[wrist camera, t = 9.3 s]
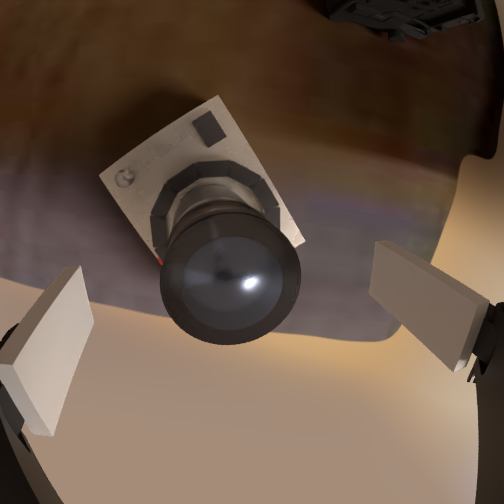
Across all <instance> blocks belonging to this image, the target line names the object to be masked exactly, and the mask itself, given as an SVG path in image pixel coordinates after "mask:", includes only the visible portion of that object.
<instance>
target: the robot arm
mask: <svg viewBox="0 0 504 504" xmlns="http://www.w3.org/2000/svg"><path fill="white" fill-rule="evenodd" d="M369 295H370V296H371V297H373V298H374V299H375V300H376V301H377V302H378V303H379V304H380V305H381V306H383V307H384V308H385V309H386V310H387V311H388V312H389V313H390V314H391V315H393V316H394V317H395V318H396V319H397V320H398V321H399V322H400V323H401V324H403V325H404V326H405V327H406V328H407V329H408V330H409V331H410V332H411V333H412V334H414V336H416V337H417V338H418V339H419V340H420V341H421V342H422V343H423V344H424V345H425V346H426V347H427V348H428V349H429V350H430V351H431V352H433V353H434V354H435V355H436V356H437V357H438V358H439V359H440V360H441V361H442V362H443V363H444V364H445V365H446V366H447V367H448V368H449V369H450V370H451V371H453V372H455V371H458V370H460V369H462V368H464V367H466V366H467V364H468V361H469V359H470V356H471V354H472V353H473V354H474V355H476V356H477V358H476V361H475V363H474V365H473V368H472V370H471V372H470V374H469V377H468V379H467V382H470V380H471V378H472V377H473V376H475V379H474V381H473V383H476V391H477V405H478V430H479V454H478V455H479V456H478V478H477V490H476V500H475V504H504V302H500V303H497V304H496V306H494V305H492V304H490V303H489V302H490V301H489V300H488V299H486V298H485V297H483V296H482V295H480V294H478V293H477V292H475V291H474V290H472V289H470V288H469V287H467V286H465V285H464V284H462V283H461V282H459V281H458V280H456V279H454V278H453V277H451V276H449V275H448V274H446V273H444V272H443V271H441V270H439V269H438V268H436V267H434V266H432V265H431V264H429V263H428V262H426V261H424V260H422V259H421V258H419V257H417V256H415V255H414V254H412V253H410V252H408V251H407V250H405V249H403V248H401V247H399V246H398V245H396V244H394V243H392V242H390V241H389V240H386V241H375V250H374V258H373V266H372V274H371V281H370V288H369ZM93 324H94V319H93V316H92V312H91V308H90V304H89V300H88V296H87V292H86V288H85V283H84V279H83V274H82V270H81V265H78V266H66V267H64V268H63V269H62V271H61V272H60V273H59V274H58V275H57V277H56V278H55V279H54V280H53V281H52V282H51V284H50V285H49V286H48V287H47V289H46V290H45V291H44V292H43V293H42V295H41V296H40V297H39V299H38V300H37V301H36V302H35V304H34V305H33V306H32V307H31V309H30V310H29V311H28V313H27V314H26V315H25V317H24V318H23V319H22V321H21V322H20V323H17V324H16V325H15V326H14V327H12V328H11V329H10V330H8V331H7V333H6V334H5V335H4V337H3V338H2V341H0V504H64V503H63V502H62V501H61V499H60V497H59V496H58V494H57V493H56V491H55V489H54V488H53V486H52V485H51V483H50V481H49V480H48V478H47V476H46V474H45V473H44V471H43V469H42V467H41V466H40V464H39V462H38V460H37V458H36V456H35V454H34V453H33V451H32V449H31V447H30V445H29V443H28V441H27V438H26V437H25V435H24V434H23V432H22V431H21V429H22V426H23V424H24V421H25V423H26V424H27V426H28V427H29V429H30V430H31V431H32V433H33V434H37V435H44V436H52V437H53V435H54V432H55V428H56V425H57V422H58V419H59V415H60V413H61V409H62V406H63V403H64V400H65V397H66V395H67V391H68V389H69V386H70V383H71V380H72V377H73V375H74V372H75V369H76V367H77V364H78V361H79V359H80V356H81V354H82V351H83V349H84V346H85V344H86V341H87V339H88V336H89V334H90V332H91V329H92V326H93Z"/></svg>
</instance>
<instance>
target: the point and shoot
mask: <svg viewBox="0 0 504 504" xmlns="http://www.w3.org/2000/svg"><path fill="white" fill-rule="evenodd" d="M99 177H100V178H101V180H102V181H103V183H104V184H105V186H106V187H107V189H108V190H109V192H110V193H111V195H112V196H113V198H114V199H115V201H116V202H117V204H118V205H119V206H120V208H121V209H122V211H123V212H124V214H125V215H126V216H127V218H128V219H129V221H130V222H131V224H132V225H133V226H134V228H135V229H136V231H137V232H138V233H139V235H140V236H141V237H142V239H143V240H144V242H145V243H146V244H147V246H148V247H149V248H150V250H151V251H152V252H153V254H154V255H155V256H156V258H157V260H158V262H159V263H160V264H163V260H164V256H165V250H166V246H167V242H168V238H169V236H170V233H171V230H172V226H173V221H174V216H175V212H176V210H177V207H178V205H179V203H180V202H181V201H182V199H183V198H184V197H185V196H186V195H187V194H188V193H190V192H191V191H193V190H194V189H196V188H199V187H202V186H206V185H219V186H223V187H226V188H228V189H231V190H232V191H234V192H235V193H236V194H238V195H239V196H240V197H241V198H242V199H243V200H244V201H245V202H246V203H248V204H249V205H250V206H251V207H253V208H254V209H256V210H257V211H259V212H260V213H261V214H262V215H263V216H264V217H266V218H267V220H268V221H270V222H271V223H272V224H273V225H275V226H276V227H277V228H278V229H279V230H280V231H281V232H282V233H283V234H284V235H285V236H286V237H287V238H288V239H289V241H290V242H291V244H292V245H293V247H294V248H295V247H297V246H298V245H300V244H301V243H303V242H305V240H304V238H303V237H302V235H301V233H300V231H299V229H298V228H297V226H296V224H295V222H294V220H293V219H292V217H291V215H290V213H289V212H288V210H287V208H286V206H285V205H284V203H283V201H282V199H281V198H280V196H279V194H278V192H277V191H276V189H275V187H274V186H273V184H272V182H271V180H270V179H269V177H268V175H267V174H266V172H265V170H264V169H263V167H262V165H261V164H260V162H259V160H258V159H257V157H256V155H255V154H254V152H253V150H252V149H251V147H250V145H249V144H248V142H247V140H246V139H245V137H244V136H243V134H242V132H241V131H240V129H239V127H238V126H237V124H236V123H235V121H234V119H233V118H232V116H231V115H230V113H229V111H228V110H227V108H226V107H225V105H224V104H223V102H222V100H221V99H220V97H219V96H218V95H217V96H215V97H214V98H212V99H210V100H208V101H207V102H205V103H203V104H201V105H200V106H198V107H196V108H195V109H193V110H191V111H190V112H188V113H187V114H185V115H183V116H182V117H180V118H179V119H177V120H175V121H174V122H172V123H171V124H169V125H168V126H166V127H165V128H163V129H162V130H160V131H159V132H157V133H156V134H154V135H153V136H151V137H150V138H148V139H147V140H145V141H144V142H143V143H141V144H140V145H138V146H137V147H135V148H134V149H133V150H131V151H130V152H129V153H127V154H126V155H124V156H123V157H122V158H120V159H119V160H118V161H116V162H115V163H114V164H112V165H111V166H110V167H109V168H107V169H106V170H105V171H103V172H102V173H101V174H100V175H99Z"/></svg>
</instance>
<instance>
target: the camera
mask: <svg viewBox="0 0 504 504" xmlns="http://www.w3.org/2000/svg"><path fill="white" fill-rule="evenodd" d="M326 13H327V15H328V16H329V19H330V20H333V21H339V22H342V21H346V20H347V21H351V22H354V23H358V24H362V25H365V26H368V27H372V28H375V29H378V30H381V31H384V32H387V33H388V39H389V40H390V41H392V42H403V41H405V40H404V35H410V36H412V37H415V38H417V39H423V38H426V37H427V36H430V35H432V34H433V32H437V31H441V32H444V33H446V28H449V27H453V26H456V25H460V24H463V23H467V22H469V21H470V20H471V21H473V20H475V22H479V21H481V20H482V19H484V13H483V8H482V4H481V0H326ZM465 19H466V20H465ZM467 20H469V21H467ZM469 25H472V24H471V22H469Z"/></svg>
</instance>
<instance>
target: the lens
mask: <svg viewBox="0 0 504 504" xmlns="http://www.w3.org/2000/svg"><path fill="white" fill-rule="evenodd" d="M300 284H301V268H300V262H299V259H298V255H297V253H296V251H295V249H294V247H293V245H292V244H291V242H290V241H289V239H288V238H287V237H286V236H285V235H284V234H283V233H282V232H281V231H280V230H279V229H278V228H277V227H276V226H275V225H273V224H272V223H271V222H270V221H268V220H267V218H266V217H264V216H263V215H262V214H261V213H260V212H259V211H257V210H256V209H254V208H253V207H251V206H250V205H249V204H248V203H246V202H245V201H244V200H243V199H242V198H241V197H240V196H239V195H238V194H236V193H235V192H234V191H232V190H231V189H228V188H226V187H223V186H219V185H206V186H202V187H199V188H196V189H194V190H193V191H191V192H190V193H188V194H187V195H186V196H185V197H184V198H183V199H182V201H181V202H180V203H179V205H178V207H177V210H176V212H175V216H174V221H173V226H172V230H171V233H170V236H169V238H168V242H167V246H166V250H165V256H164V260H163V264H162V269H161V275H160V291H161V296H162V300H163V303H164V306H165V308H166V310H167V312H168V314H169V315H170V317H171V318H172V319H173V321H174V322H175V323H176V324H177V325H178V326H179V327H180V328H181V329H182V330H184V331H185V332H186V333H188V334H189V335H191V336H193V337H194V338H197V339H199V340H201V341H204V342H208V343H212V344H218V345H235V344H241V343H246V342H250V341H253V340H255V339H258V338H260V337H262V336H264V335H265V334H267V333H269V332H270V331H272V330H273V329H275V328H276V327H277V326H278V325H279V324H280V323H281V322H282V321H283V320H284V319H285V318H286V317H287V315H288V314H289V312H290V311H291V309H292V308H293V306H294V304H295V302H296V299H297V297H298V294H299V290H300Z"/></svg>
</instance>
